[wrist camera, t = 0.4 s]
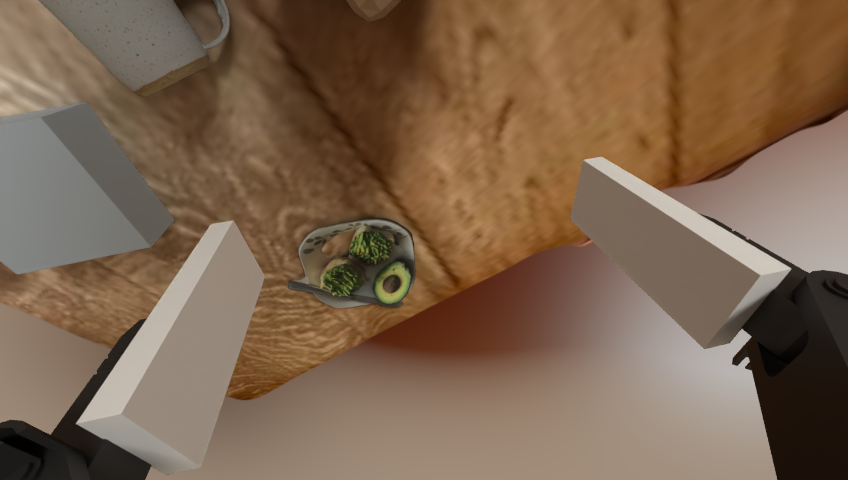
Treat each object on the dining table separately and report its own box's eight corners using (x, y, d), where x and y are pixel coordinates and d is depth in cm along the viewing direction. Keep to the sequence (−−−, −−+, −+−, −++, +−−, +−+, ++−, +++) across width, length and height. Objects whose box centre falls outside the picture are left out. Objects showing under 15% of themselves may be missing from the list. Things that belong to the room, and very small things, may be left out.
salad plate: (303, 313, 53) (299, 335, 49) (269, 225, 42) (260, 245, 38) (416, 296, 55) (420, 316, 51) (411, 209, 44) (416, 226, 41)
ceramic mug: (164, 92, 31) (119, 111, 25) (80, -4, 26) (-2, -10, 20) (256, 43, 30) (233, 50, 24) (186, -65, 25) (135, -91, 19)
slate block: (-63, 127, 30) (-143, 149, 25) (89, 101, 31) (40, 117, 26) (59, 242, 38) (17, 274, 34) (176, 218, 39) (151, 247, 34)
